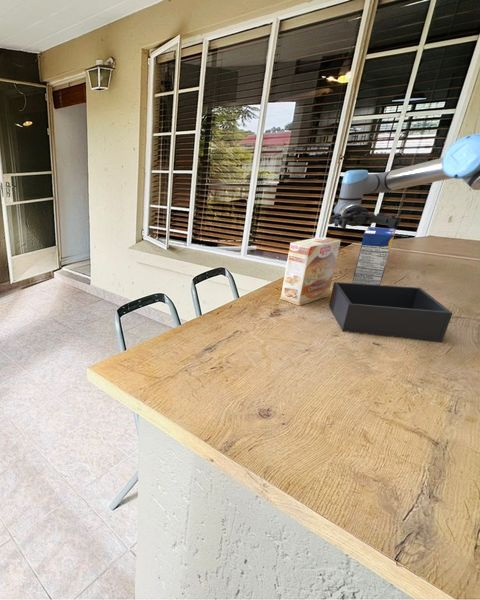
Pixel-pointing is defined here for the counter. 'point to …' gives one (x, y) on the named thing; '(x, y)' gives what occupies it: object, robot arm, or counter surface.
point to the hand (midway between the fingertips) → (369, 224)
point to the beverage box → (373, 255)
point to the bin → (389, 311)
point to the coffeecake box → (309, 270)
